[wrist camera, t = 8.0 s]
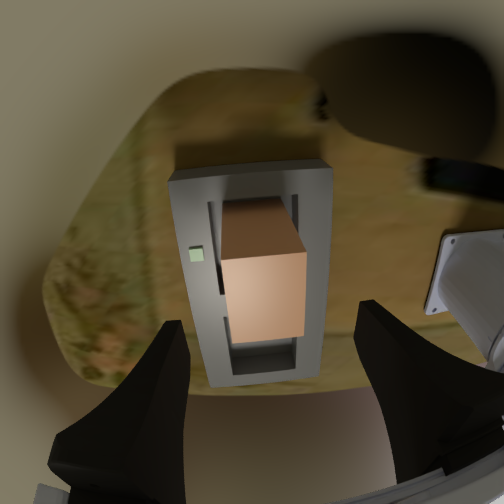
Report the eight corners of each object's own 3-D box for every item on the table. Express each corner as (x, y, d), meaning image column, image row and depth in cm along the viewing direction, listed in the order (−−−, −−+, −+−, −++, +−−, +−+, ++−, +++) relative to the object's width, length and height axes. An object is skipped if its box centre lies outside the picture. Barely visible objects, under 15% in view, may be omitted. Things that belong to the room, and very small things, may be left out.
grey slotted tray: (320, 158, 19) (334, 168, 17) (312, 355, 27) (319, 377, 25) (174, 170, 19) (166, 182, 16) (211, 365, 27) (210, 389, 24)
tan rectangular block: (280, 198, 19) (306, 252, 13) (282, 265, 22) (303, 335, 16) (222, 203, 19) (220, 260, 13) (229, 270, 22) (232, 343, 15)
